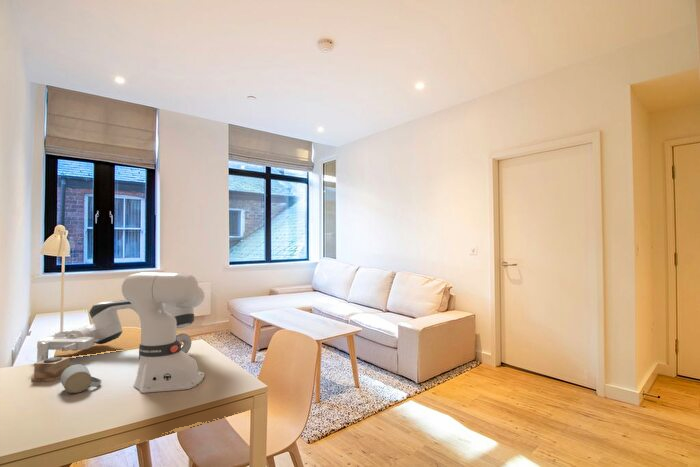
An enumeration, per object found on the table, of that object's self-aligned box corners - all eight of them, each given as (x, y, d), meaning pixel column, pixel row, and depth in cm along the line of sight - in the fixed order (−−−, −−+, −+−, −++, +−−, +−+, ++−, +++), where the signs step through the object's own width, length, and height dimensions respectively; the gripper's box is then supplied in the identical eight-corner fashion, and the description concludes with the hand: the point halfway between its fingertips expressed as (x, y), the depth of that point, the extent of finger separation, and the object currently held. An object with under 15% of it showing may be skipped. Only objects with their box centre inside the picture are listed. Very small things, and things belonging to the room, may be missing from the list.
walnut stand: (71, 372, 130) (72, 355, 130) (54, 381, 122) (55, 362, 122) (49, 372, 130) (50, 355, 130) (31, 381, 122) (32, 363, 122)
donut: (172, 360, 145) (173, 336, 146) (167, 359, 147) (168, 335, 147) (192, 354, 154) (193, 331, 155) (187, 352, 156) (188, 330, 156)
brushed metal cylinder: (49, 367, 135) (50, 341, 135) (42, 370, 132) (44, 344, 132) (41, 367, 135) (42, 341, 135) (34, 370, 132) (35, 344, 132)
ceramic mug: (63, 397, 110) (65, 373, 110) (59, 390, 115) (61, 366, 115) (103, 388, 117) (105, 365, 118) (97, 381, 123) (99, 359, 123)
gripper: (101, 346, 152) (78, 357, 139) (53, 346, 151) (25, 357, 138) (101, 332, 153) (78, 341, 139) (53, 332, 152) (25, 341, 138)
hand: (51, 349), depth 138 cm, fingers open, 8 cm apart
